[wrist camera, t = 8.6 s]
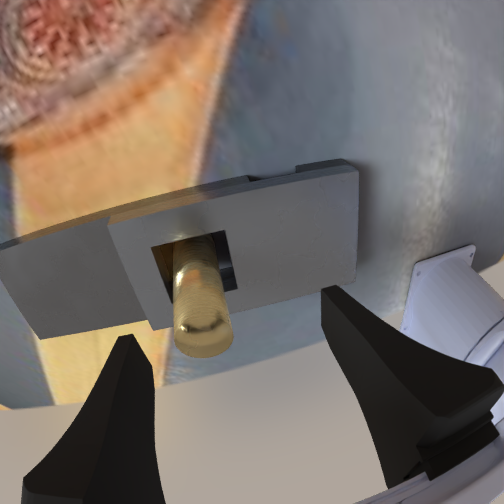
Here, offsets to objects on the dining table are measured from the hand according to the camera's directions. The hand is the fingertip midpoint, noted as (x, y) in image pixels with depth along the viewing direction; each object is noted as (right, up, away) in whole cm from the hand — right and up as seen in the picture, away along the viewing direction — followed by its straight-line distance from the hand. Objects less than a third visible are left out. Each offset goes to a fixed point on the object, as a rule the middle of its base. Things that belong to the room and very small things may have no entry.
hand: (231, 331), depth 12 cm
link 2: (0, +4, +9) cm, 10 cm away
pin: (-3, +3, +9) cm, 10 cm away
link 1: (-8, +2, +8) cm, 11 cm away
